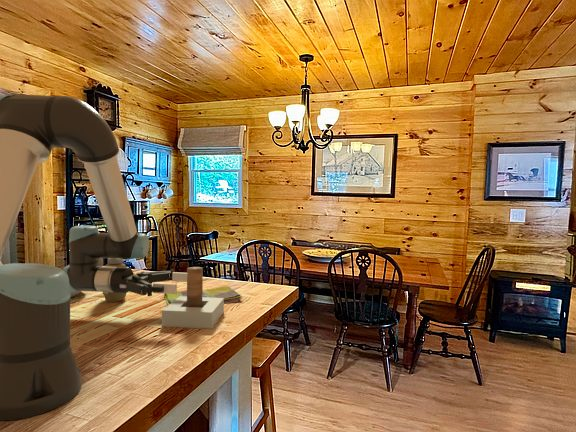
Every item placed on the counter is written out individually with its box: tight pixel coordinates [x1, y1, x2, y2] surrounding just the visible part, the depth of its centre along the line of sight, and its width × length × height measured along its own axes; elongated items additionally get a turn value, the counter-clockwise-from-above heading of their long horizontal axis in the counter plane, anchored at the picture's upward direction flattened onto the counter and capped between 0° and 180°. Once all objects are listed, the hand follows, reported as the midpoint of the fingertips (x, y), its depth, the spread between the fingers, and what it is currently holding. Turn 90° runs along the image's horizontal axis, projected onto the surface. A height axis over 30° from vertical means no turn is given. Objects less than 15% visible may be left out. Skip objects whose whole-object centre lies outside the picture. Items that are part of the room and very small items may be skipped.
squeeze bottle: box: [102, 258, 128, 303], centre depth 125 cm, size 8×8×18 cm
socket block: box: [161, 296, 225, 330], centre depth 108 cm, size 14×14×4 cm
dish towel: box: [163, 285, 243, 306], centre depth 129 cm, size 18×24×3 cm
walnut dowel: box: [186, 266, 204, 308], centre depth 108 cm, size 4×4×15 cm
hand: (185, 283), depth 108 cm, fingers open, 13 cm apart
